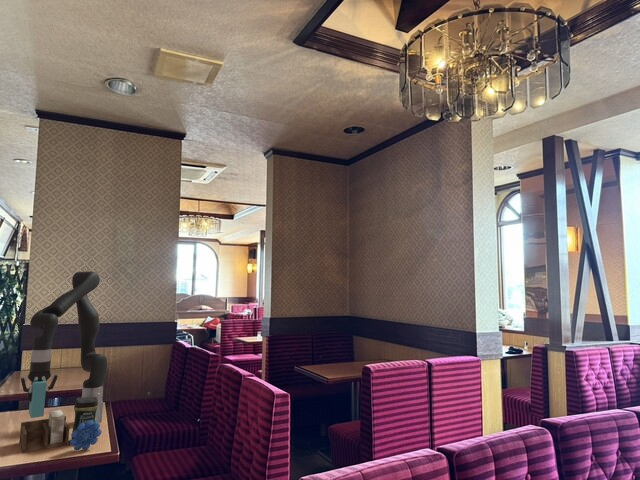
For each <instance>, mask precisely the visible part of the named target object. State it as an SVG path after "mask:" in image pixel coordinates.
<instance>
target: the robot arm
mask: <svg viewBox="0 0 640 480" xmlns="http://www.w3.org/2000/svg"><path fill="white" fill-rule="evenodd" d="M100 280H101V279H100V276H99V274H98V272H95V271H90V270H89V271H76V272H75V273H73V276H72V281H71V283H72V284H71V285H72V289H71V290H69V291H67V292H65V293H64V292H63V294H61V295H60V296H58V297H56V299H55V300H53V302H51V304H49V305H47V306H46V307H44V308H42V309H40V310H38V311H37V312H36V313H34V314H33V316H32V317H31V318H30V323H29V324H30V327H31V328H32V329H34V330H43V331H42V333H41V334H39V335H35V336H34V337H33V341H32V351H31V354H30V355H31V356H30V363H29V364H30V365H29V373H28V375H26V376H24V377H23V376H21V377H20V382H21V387H22V390H23V392H24V393H27V401H28V402H29V403H30V402H31V400H32V389H33V382H37V381H46V382H47V381H48V380H49V379H50V378H51V382H50V384H49V386H48V383H46V394H45V400H47V399H48V394H49V391H50V390H53V389H54V387H55V384H56V383H57V380H58V374H52V373H51V365H52V355H53V354H52V348H53V347H52V346H53V338H54V336H55V333H56V331H57V328H58V325H59V319H58V318H60V317H62V316H63V315H64V314H66V313H67V311H69V310H70V308H72V306H74V305H76V311H77V321H78V329H79V331H78V332H79V338H80V339H79V340H80V341H79V342H80V366H81V369H82V370H83V371H85V372H87V373H88V372H89V376H88V378H87V379H84V381H83V382H82V392H81V393H82V394H81V398H83V397H95V396H96V397H97V399H98V408H97V410H96V423H101V422H103V410H104V409H103V408H104V401H103V394H104V382H105V381H106V377H107V369H108V359H107V357H106V355H104V354H101V353H97V352H96V347H95V346H96V345H95V344H96V343H95V341H96V338H97V336H98V334H99V331H100V319H99V318H100V317H99V312H98V311H97V310H96V308H95V307H94V305H93V303H91V301H90V299H89V296H88V294H89V293H91V292H93V291H94V290H95V289H96V288H97V287H99V284H100ZM28 380H29V381H30V385H29V388H28V387H27V384H26V383H27V381H28Z"/></svg>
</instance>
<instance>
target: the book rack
mask: <svg viewBox="0 0 640 480" xmlns="http://www.w3.org/2000/svg"><path fill="white" fill-rule="evenodd" d="M19 430H20V433H19V441H18V442H19V447H20V451H21V454H25V453H30V452H31V453H32V452H36V451H42V450H48V449H53V448H58V447H60V448H61V447H65V446H69V445H70V441H69V439H70V438H69V437H70V426H69V424H68V423H67V415H65V414H64V412H63V411H62V409H58V410H52V411H49V415H48V418H44V419H36V420H35V419H34V420H30V421H22V422H20V429H19Z"/></svg>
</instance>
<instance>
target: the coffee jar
mask: <svg viewBox="0 0 640 480" xmlns="http://www.w3.org/2000/svg"><path fill="white" fill-rule="evenodd" d="M97 408H98V399H97V397H96V396H95V397H83V398H82V397H77V398H76V399H75V403H74V406H73V410H74V422H73V426H72V432H73V431H74V430H78V429H77V427H78V425H79V424H81V423H85V424H86V423H87V422H88V421H89V420H93V421H94V424H95V423H96V410H97ZM72 432H71V433H72ZM71 439H73V438H72V437H71V436H70V440H71Z"/></svg>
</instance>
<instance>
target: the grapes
mask: <svg viewBox="0 0 640 480" xmlns="http://www.w3.org/2000/svg"><path fill="white" fill-rule="evenodd" d="M100 427H101V422H98V423H95V424H94V421H93V420H89V421H88V422H87V423H86V424H85V423H81V424H79V425H78V427H77V429H78V430H74V431H73V430H72V431H73V432H71V434H70V441H69V445H70V446H72V447H73V449H74V451H76V452H77V451H80V450H81V449H82V451H87V450H88V449H90V447H91V446H93V445H96V444H97V443H98V441H99V439H98V437H100V436H101V434H102V432H103V431H102V430H101V428H100ZM71 437H72V438H73V439H71Z"/></svg>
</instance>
